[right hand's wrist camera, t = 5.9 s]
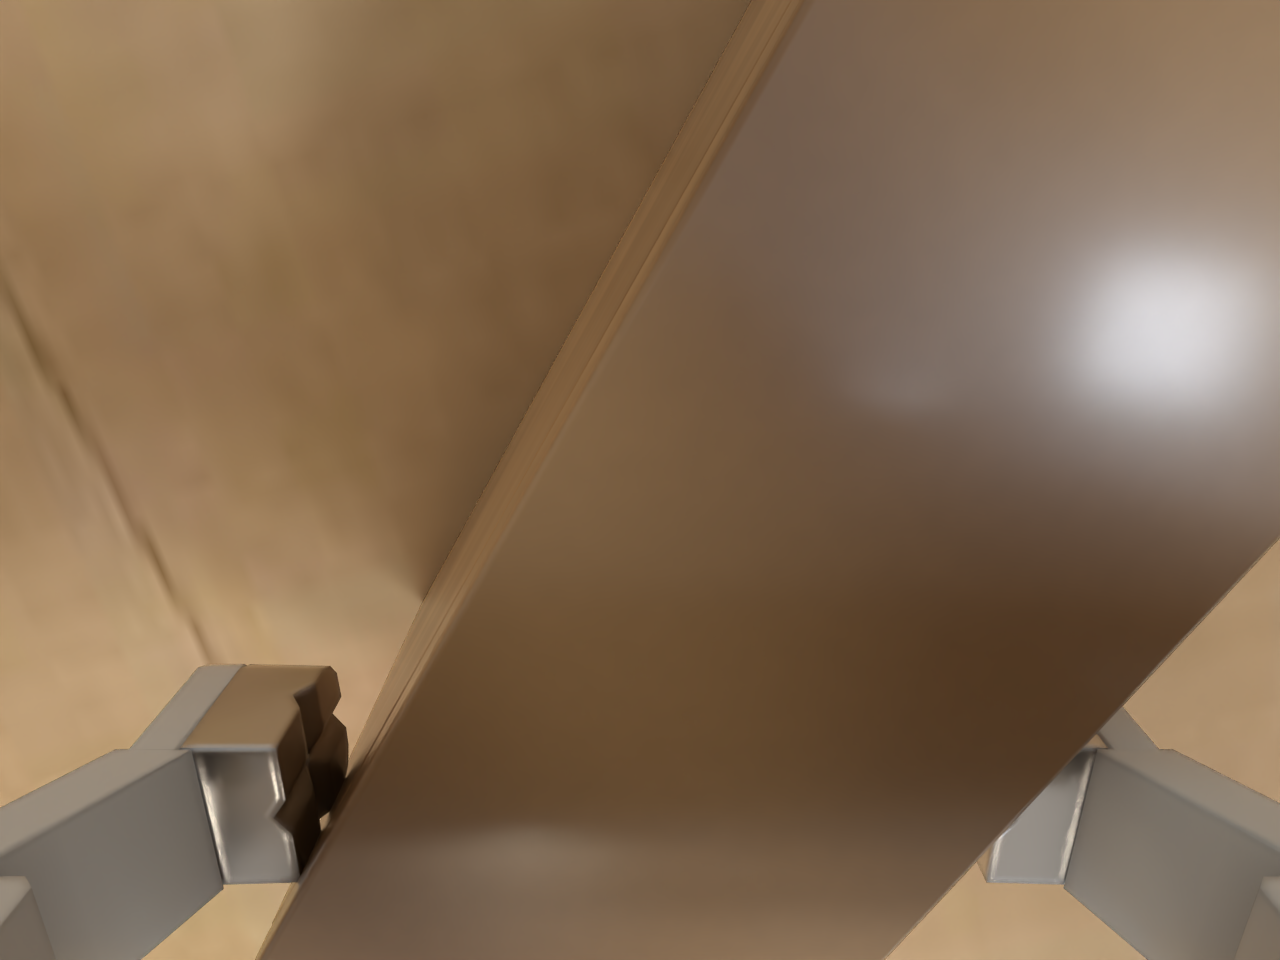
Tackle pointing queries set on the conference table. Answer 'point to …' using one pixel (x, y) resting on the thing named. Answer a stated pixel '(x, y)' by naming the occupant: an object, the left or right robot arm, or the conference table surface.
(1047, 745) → the cabinet
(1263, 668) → the conference table surface
